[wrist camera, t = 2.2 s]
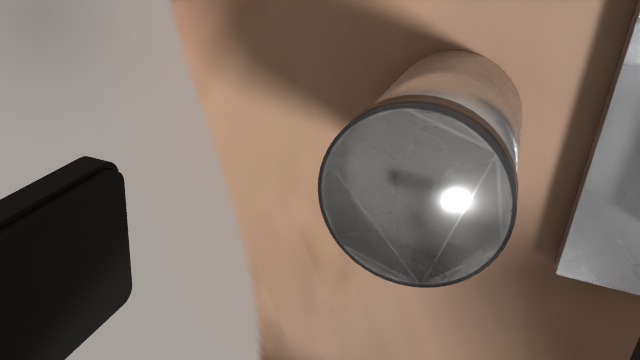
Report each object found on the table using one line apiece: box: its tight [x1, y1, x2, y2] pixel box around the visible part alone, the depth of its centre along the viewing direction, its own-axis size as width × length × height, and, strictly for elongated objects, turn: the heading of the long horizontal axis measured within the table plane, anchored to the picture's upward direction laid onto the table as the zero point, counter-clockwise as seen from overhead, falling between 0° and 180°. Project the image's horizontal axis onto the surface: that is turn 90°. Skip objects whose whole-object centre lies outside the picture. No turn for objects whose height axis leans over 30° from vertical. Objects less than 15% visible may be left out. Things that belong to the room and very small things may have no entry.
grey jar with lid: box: [318, 50, 522, 288], centre depth 18 cm, size 5×5×8 cm
